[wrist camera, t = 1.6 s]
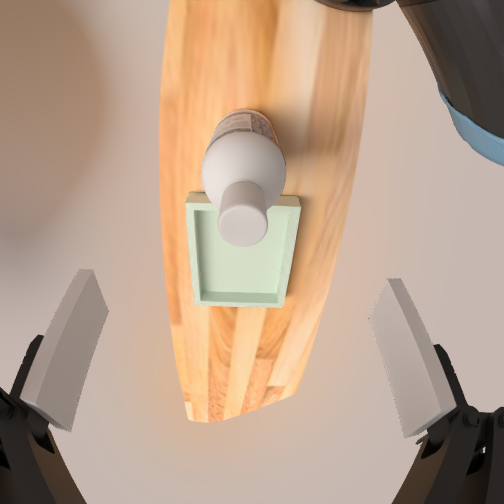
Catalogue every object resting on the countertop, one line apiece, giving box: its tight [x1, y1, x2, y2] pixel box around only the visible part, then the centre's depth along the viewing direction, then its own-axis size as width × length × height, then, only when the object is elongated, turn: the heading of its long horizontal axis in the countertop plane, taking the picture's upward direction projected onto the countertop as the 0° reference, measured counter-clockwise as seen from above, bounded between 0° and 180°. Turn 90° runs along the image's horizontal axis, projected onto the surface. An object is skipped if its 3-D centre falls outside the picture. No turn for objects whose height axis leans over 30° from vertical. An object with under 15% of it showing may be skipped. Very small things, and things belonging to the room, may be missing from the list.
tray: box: [185, 192, 301, 308], centre depth 42 cm, size 18×14×3 cm
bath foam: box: [201, 109, 286, 247], centre depth 25 cm, size 7×7×20 cm
